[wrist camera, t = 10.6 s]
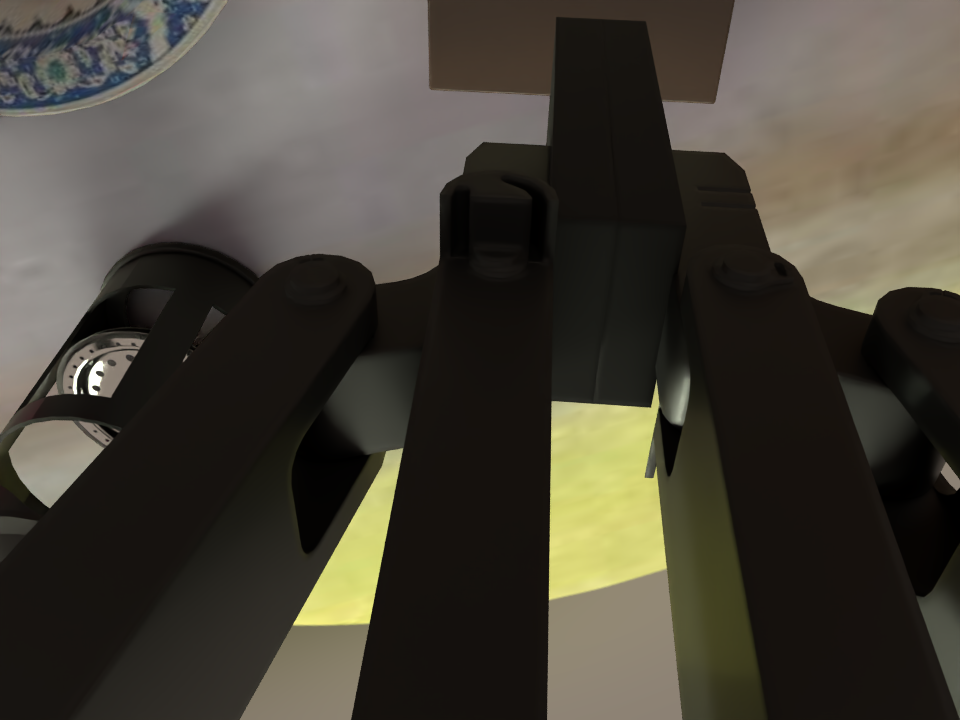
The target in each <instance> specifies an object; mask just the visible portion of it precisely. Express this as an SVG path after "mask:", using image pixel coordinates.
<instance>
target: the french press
mask: <svg viewBox="0 0 960 720" xmlns="http://www.w3.org/2000/svg"><path fill="white" fill-rule="evenodd" d="M258 280H259V278H258V277H257V276H256V275H255V274H254V273H253V272H251V271H250V270H248V269H247V268H246V267H244V266H243V265H241V264H240V263H239V262H237V261H235V260H233V259H231V258H229V257H227V256H225V255H223V254H221V253H219V252H217V251H214V250H211V249H208V248H205V247H202V246H198V245H192V244H186V243H158V244H153V245H147V246H144V247H141V248H139V249H137V250H134V251H132V252H130V253H128V254H127V255H125V256H124V257H123V258H121V259H120V260H119V261H117V262H116V264H115V265H114V266H113V268H112V269H111V270H110V271H109V273H108V274H107V276H106V277H105V280H104V283H103V285H102V288H101V292H100V294H99V295H98V297H97V298H96V300H95V301H94V302H93V304H92V305H91V307H90V308H89V309H88V311H87V312H86V314H85V315H84V317H83V318H82V319H81V321H80V322H79V324H78V325H77V326H76V328H75V329H74V331H73V332H72V334H71V335H70V336H69V338H68V339H67V341H66V342H65V343H64V345H63V346H62V348H61V349H60V350H59V352H58V353H57V355H56V356H55V358H54V359H53V360H52V362H51V363H50V365H49V366H48V367H47V369H46V370H45V372H44V373H43V375H42V376H41V377H40V379H39V380H38V382H37V383H36V384H35V386H34V387H33V389H32V390H31V391H30V393H29V394H28V396H27V397H26V399H25V400H24V401H23V403H22V404H21V406H20V407H19V408H18V410H17V411H16V413H15V414H14V416H13V417H12V418H11V420H10V421H9V423H8V424H7V425H6V427H5V428H4V430H3V431H2V433H1V434H0V563H1V562H2V561H3V559H4V558H5V557H6V556H7V555H8V554H9V553H10V552H11V551H12V550H13V548H14V547H15V546H16V545H17V544H18V543H19V542H20V541H21V540H22V539H23V538H24V536H25V535H26V534H27V533H28V532H29V531H30V530H31V529H32V528H33V527H34V525H35V524H36V523H37V522H38V521H39V520H40V519H41V518H42V517H43V516H44V514H45V513H46V512H47V511H48V510H49V509H50V508H48V507H47V506H45V505H44V504H43V503H42V502H41V501H40V500H38V499H37V498H36V497H35V496H34V495H33V494H32V493H31V492H30V491H29V490H28V489H27V487H26V486H25V485H24V484H23V482H22V481H21V480H20V479H19V477H18V475H17V473H16V471H15V469H14V468H13V466H12V463H11V459H10V456H9V452H8V451H9V449H10V448H11V446H12V445H13V443H14V442H15V440H16V439H17V438H18V436H19V435H20V433H21V432H22V430H23V429H24V427H25V426H27V425H30V424H32V423H37V422H44V421H51V420H73V421H74V423H75V424H76V425H77V426H78V427H79V428H80V429H81V430H82V431H83V432H84V433H85V434H86V435H87V436H88V437H90V438H91V439H92V440H94V441H95V442H96V443H98V444H99V445H100V446H102V447H103V448H106V446H107V445H108V444H109V443H110V442H111V441H112V440H113V439H114V438H115V437H116V435H117V434H118V433H119V432H120V431H121V430H122V429H123V428H124V427H125V426H126V424H127V423H128V422H129V421H130V420H131V419H132V418H133V417H134V416H135V415H136V413H137V412H138V411H139V410H140V409H141V408H142V407H143V406H144V405H145V404H146V402H147V401H148V400H149V399H150V398H151V397H152V396H153V395H154V394H155V393H156V392H157V390H158V389H159V388H160V387H161V386H162V385H163V384H164V383H165V382H166V381H167V379H168V378H169V377H170V376H171V375H172V374H173V373H174V372H175V371H176V370H177V368H178V367H179V366H180V365H181V364H182V363H183V362H184V361H185V360H186V359H187V357H188V356H189V355H190V354H191V353H192V352H193V351H194V350H195V349H196V348H197V346H195V345H193V344H192V343H193V341H194V339H195V337H196V336H197V334H198V332H199V330H200V328H201V326H202V324H203V322H204V320H205V319H206V317H207V315H208V313H209V311H210V309H211V307H212V306H213V307H214V308H216V309H217V310H218V311H220V312H221V313H223V314H224V315H227V314H228V312H229V311H230V310H231V309H232V308H233V307H234V306H235V305H236V304H237V303H238V302H239V300H240V299H241V298H242V297H243V296H244V295H245V294H246V293H247V292H248V291H249V289H250V288H251V287H252V286H253V285H254V284H255V283H256V282H257V281H258ZM134 289H163V290H169V291H174V292H173V294H172V296H171V297H170V299H169V301H168V302H167V304H166V306H165V307H164V309H163V311H162V312H161V314H160V316H159V317H158V319H157V321H156V322H155V324H154V326H153V327H152V329H150V328H141V327H130V325H129V322H128V319H127V313H126V303H127V297H128V294H129V292H130V290H134ZM56 380H57V383H56V384H57V389H58V393H59V395H54V396H48V397H46V395H47V394H48V392H49V391H50V389H51V388H52V386H53V385H54V383H55V382H56Z"/></svg>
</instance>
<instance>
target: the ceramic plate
mask: <svg viewBox="0 0 960 720" xmlns="http://www.w3.org/2000/svg"><path fill="white" fill-rule="evenodd" d="M227 1H228V0H0V116H10V117H15V116H40V115H50V114H59V113H66V112H70V111H75V110H79V109H83V108H88V107H92V106H96V105H99V104H102V103H105V102H108V101H110V100H113V99H116V98H118V97H121V96H123V95H125V94H127V93H129V92H131V91H133V90H135V89H137V88H139V87H141V86H143V85H144V84H146V83H147V82H149V81H150V80H152V79H153V78H155V77H156V76H158V75H159V74H161V73H162V72H164V71H165V70H167V69H168V68H170V67H171V66H172V65H173V64H174V63H176V62H177V61H178V60H179V59H180V58H182V57H183V56H184V55H185V54H186V53H187V52H188V51H189V50H190V49H191V48H192V47H193V46H194V45H195V44H196V43H197V42H198V41H199V39H200V38H201V37H202V36H203V35H204V34H205V33H206V32H207V30H208V29H209V28H210V26H211V25H212V23H213V22H214V20H215V19H216V17H217V16H218V14H219V13H220V11H221V10H222V8H223V7H224V6H225V4H226V3H227Z"/></svg>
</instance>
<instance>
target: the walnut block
mask: <svg viewBox="0 0 960 720" xmlns="http://www.w3.org/2000/svg"><path fill="white" fill-rule="evenodd" d="M734 2H735V0H428V36H429V87H430V89H431V90H444V91H465V92H485V93H505V94H525V95H546V96H550V91H551V78H552V65H553V52H554V39H555V26H556V17H570V18H590V19H611V20H631V21H646V24H647V29H648V34H649V39H650V44H651V49H652V54H653V59H654V64H655V69H656V74H657V79H658V84H659V89H660V94H661V99H662V101H667V102H688V103H708V104H713V103H715V100H716V95H717V90H718V85H719V80H720V74H721V69H722V64H723V59H724V54H725V49H726V43H727V38H728V33H729V28H730V23H731V18H732V12H733V7H734Z"/></svg>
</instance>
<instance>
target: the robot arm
mask: <svg viewBox="0 0 960 720" xmlns="http://www.w3.org/2000/svg"><path fill="white" fill-rule="evenodd" d="M750 191H751V189H750V186H749V183H748V180H747V177H746V173H745V171H744V170H743V169H742V168H741V167H740V166H739V165H738V164H737V163H736V162H734V161H733V160H732V159H731V158H730V157H729V156H728V155H727V154H725V153H718V152H700V151H681V150H672V149H671V144H670V139H669V134H668V129H667V124H666V119H665V114H664V109H663V104H662V99H661V94H660V89H659V84H658V79H657V74H656V69H655V64H654V59H653V54H652V49H651V44H650V39H649V34H648V29H647V24H646V21H631V20H611V19H590V18H570V17H556V26H555V39H554V52H553V65H552V78H551V91H550V104H549V117H548V130H547V143H546V146H543V145H525V144H507V143H489V142H483V143H482V144H481V145H480V146H478V147H477V148H476V149H475V150H474V151H473V152H472V153H471V154H470V155H469V156H467V157H466V161H465V167H464V172H463V175H460V176H459V177H457V178H455V179H453V180H452V181H450V182H448V183H447V184H446V185H445V187H444V188H443V190H442V192H441V193H440V260H439V265H438V266H436V267H435V268H433V269H432V270H430V271H429V272H427V273H425V274H422V275H419V276H417V277H414V278H411V279H407V280H402V281H397V282H391V283H384V284H375V281H374V278H373V275H372V272H371V271H369V270H368V269H367V268H366V267H365V266H363V265H362V264H361V263H360V262H357V261H355V260H352V259H349V258H346V257H343V256H338V255H326V254H312V255H305V256H300V257H295V258H293V259H290V260H287V261H284V262H282V263H279V264H277V265H275V266H274V267H273V268H271V269H270V270H269V271H267V272H266V273H265V274H263V275H262V276H261V277H260V278H259V280H258V281H257V282H256V283H255V284H254V285H253V286H252V287H251V288H250V289H249V291H248V292H247V293H246V294H245V295H244V296H243V297H242V298H241V299H240V300H239V302H238V303H237V304H236V305H235V306H234V307H233V308H232V309H231V310H230V311H229V312H228V314H227V315H226V316H225V317H224V318H223V319H222V320H221V321H220V322H219V323H218V325H217V326H216V327H215V328H214V329H213V330H212V331H211V332H210V333H209V334H208V336H207V337H206V338H205V339H204V340H203V341H202V342H201V343H200V344H199V345H198V347H197V348H196V349H195V350H194V351H193V352H192V353H191V354H190V355H189V356H188V357H187V359H186V360H185V361H184V362H183V363H182V364H181V365H180V366H179V367H178V368H177V370H176V371H175V372H174V373H173V374H172V375H171V376H170V377H169V378H168V379H167V381H166V382H165V383H164V384H163V385H162V386H161V387H160V388H159V389H158V390H157V392H156V393H155V394H154V395H153V396H152V397H151V398H150V399H149V400H148V401H147V402H146V404H145V405H144V406H143V407H142V408H141V409H140V410H139V411H138V412H137V413H136V415H135V416H134V417H133V418H132V419H131V420H130V421H129V422H128V423H127V424H126V426H125V427H124V428H123V429H122V430H121V431H120V432H119V433H118V434H117V435H116V437H115V438H114V439H113V440H112V441H111V442H110V443H109V444H108V445H107V446H106V448H105V449H104V450H103V451H102V452H101V453H100V454H99V455H98V456H97V457H96V458H95V460H94V461H93V462H92V463H91V464H90V465H89V466H88V467H87V468H86V469H85V471H84V472H83V473H82V474H81V475H80V476H79V477H78V478H77V479H76V480H75V482H74V483H73V484H72V485H71V486H70V487H69V488H68V489H67V490H66V491H65V493H64V494H63V495H62V496H61V497H60V498H59V499H58V500H57V501H56V502H55V503H54V505H53V506H52V507H51V508H50V509H49V510H48V511H47V512H46V513H45V514H44V516H43V517H42V518H41V519H40V520H39V521H38V522H37V523H36V524H35V525H34V527H33V528H32V529H31V530H30V531H29V532H28V533H27V534H26V535H25V536H24V538H23V539H22V540H21V541H20V542H19V543H18V544H17V545H16V546H15V547H14V548H13V550H12V551H11V552H10V553H9V554H8V555H7V556H6V557H5V558H4V559H3V561H2V562H1V563H0V720H240V718H241V716H242V714H243V712H244V711H245V709H246V707H247V705H248V704H249V702H250V700H251V698H252V696H253V695H254V693H255V691H256V689H257V688H258V686H259V684H260V682H261V680H262V679H263V677H264V675H265V673H266V671H267V670H268V668H269V666H270V664H271V663H272V661H273V659H274V657H275V655H276V654H277V652H278V650H279V648H280V647H281V645H282V643H283V641H284V639H285V638H286V636H287V634H288V632H289V630H290V629H291V627H292V625H293V623H294V622H295V620H296V618H297V616H298V614H299V613H300V611H301V609H302V607H303V606H304V604H305V602H306V600H307V598H308V597H309V595H310V593H311V591H312V589H313V588H314V586H315V584H316V582H317V581H318V579H319V577H320V575H321V573H322V572H323V570H324V568H325V566H326V565H327V563H328V561H329V559H330V557H331V556H332V554H333V552H334V550H335V548H336V547H337V545H338V543H339V541H340V540H341V538H342V536H343V534H344V532H345V531H346V529H347V527H348V525H349V524H350V522H351V520H352V518H353V516H354V515H355V513H356V511H357V509H358V507H359V506H360V504H361V502H362V500H363V499H364V497H365V495H366V493H367V491H368V490H369V488H370V486H371V484H372V483H373V481H374V479H375V477H376V475H377V474H378V472H379V470H380V468H381V466H382V464H383V460H384V457H385V453H386V451H389V450H395V449H400V448H403V453H402V458H401V463H400V468H399V474H398V479H397V484H396V489H395V494H394V500H393V505H392V510H391V515H390V520H389V526H388V531H387V536H386V541H385V546H384V552H383V557H382V562H381V567H380V572H379V578H378V583H377V588H376V593H375V599H374V604H373V609H372V614H371V619H370V625H369V630H368V635H367V641H366V645H365V651H364V656H363V661H362V666H361V671H360V677H359V682H358V688H357V692H356V698H355V703H354V708H353V713H352V718H351V720H547V681H548V680H547V679H548V675H547V674H548V611H549V610H548V609H549V605H548V603H549V541H550V472H551V402H552V401H562V402H577V403H591V404H606V405H621V406H636V407H651V405H652V400H653V394H654V389H655V384H656V379H657V386H658V394H659V403H660V404H659V408H658V413H657V418H656V423H655V428H654V433H653V438H652V443H651V447H650V452H649V457H648V462H647V467H646V472H645V478H653V477H654V473H655V469H656V467H657V477H658V486H659V496H660V506H661V515H662V525H663V535H664V544H665V554H666V564H667V573H668V583H669V593H670V602H671V612H672V621H673V632H674V642H675V651H676V661H677V671H678V680H679V689H680V700H681V709H682V719H683V720H960V488H959V489H958V490H957V491H956V490H955V489H954V488H953V487H952V486H951V485H950V484H949V483H948V482H947V480H946V479H945V478H944V476H943V475H942V474H941V470H942V468H943V466H944V464H945V462H947V463H948V465H949V466H950V467H951V469H952V470H953V471H954V473H955V474H956V475H957V476H958V478H959V479H960V295H958V294H956V293H953V292H949V291H946V290H945V291H942V290H941V289H935V288H919V287H906V288H902V289H897V290H893V291H889V292H888V293H887V294H886V295H884V296H883V297H882V298H880V299H879V300H878V302H877V305H876V308H875V310H874V313H873V315H869V314H865V313H861V312H857V311H854V310H850V309H846V308H842V307H838V306H834V305H831V304H828V303H825V302H822V301H819V300H816V299H814V298H812V297H810V296H809V294H808V291H807V288H806V285H805V282H804V280H803V278H802V276H801V275H800V273H799V272H798V270H797V269H796V267H795V266H794V265H792V264H791V263H789V262H788V261H787V260H785V259H784V258H782V257H781V256H779V255H777V254H774V253H772V252H771V251H770V247H769V244H768V241H767V238H766V235H765V232H764V229H763V226H762V223H761V220H760V217H759V214H758V210H757V209H755V207H756V204H755V201H754V198H753V195H752V193H750Z"/></svg>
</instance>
